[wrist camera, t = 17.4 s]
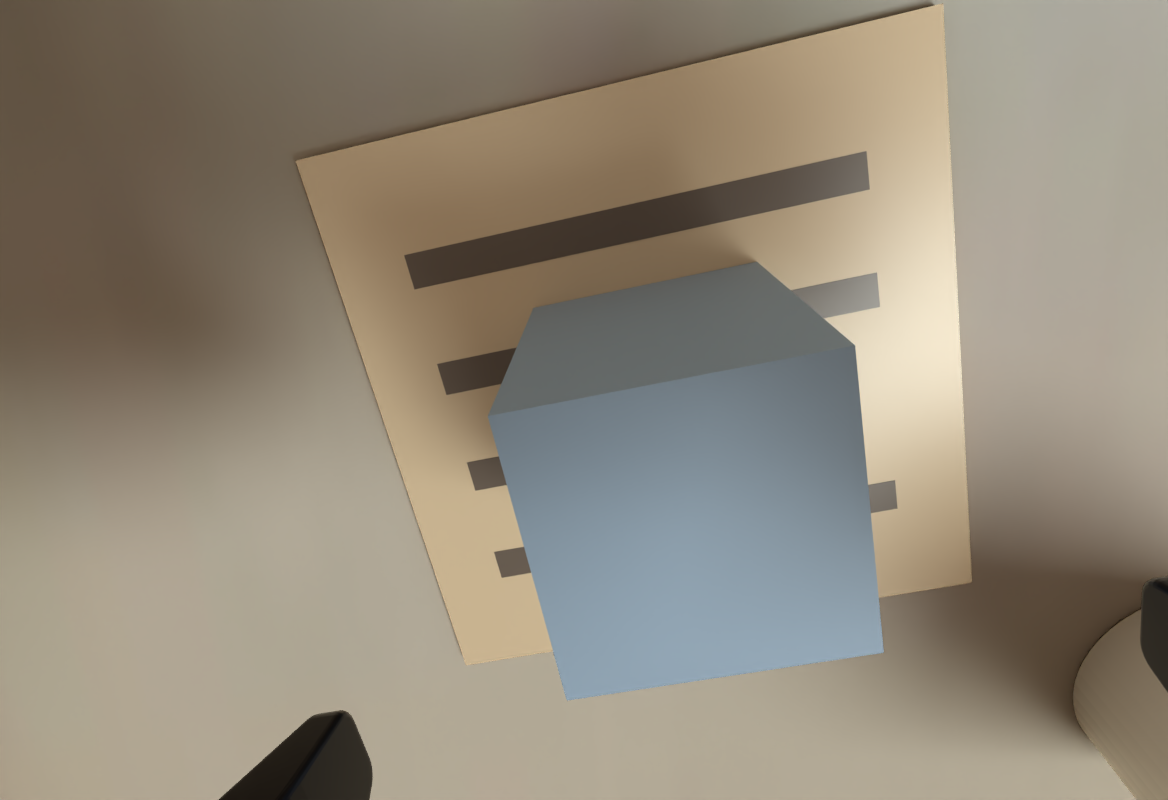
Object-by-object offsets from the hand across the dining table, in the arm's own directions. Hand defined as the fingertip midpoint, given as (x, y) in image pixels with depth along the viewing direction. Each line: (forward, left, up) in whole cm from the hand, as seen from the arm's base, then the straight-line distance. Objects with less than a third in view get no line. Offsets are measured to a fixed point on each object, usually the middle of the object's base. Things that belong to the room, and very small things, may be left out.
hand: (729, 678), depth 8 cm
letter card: (0, +1, -8) cm, 8 cm away
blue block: (0, +1, -8) cm, 8 cm away
